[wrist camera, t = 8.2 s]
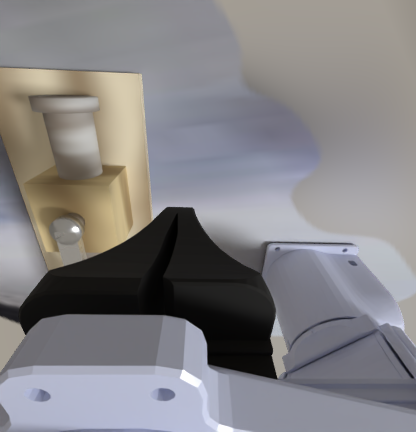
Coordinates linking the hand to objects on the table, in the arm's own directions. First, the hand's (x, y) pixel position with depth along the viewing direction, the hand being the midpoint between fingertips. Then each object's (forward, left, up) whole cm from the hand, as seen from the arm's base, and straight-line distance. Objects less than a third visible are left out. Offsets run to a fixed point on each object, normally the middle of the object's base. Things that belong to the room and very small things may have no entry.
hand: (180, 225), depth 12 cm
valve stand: (+8, +3, -10) cm, 13 cm away
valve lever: (+8, +8, -5) cm, 12 cm away
